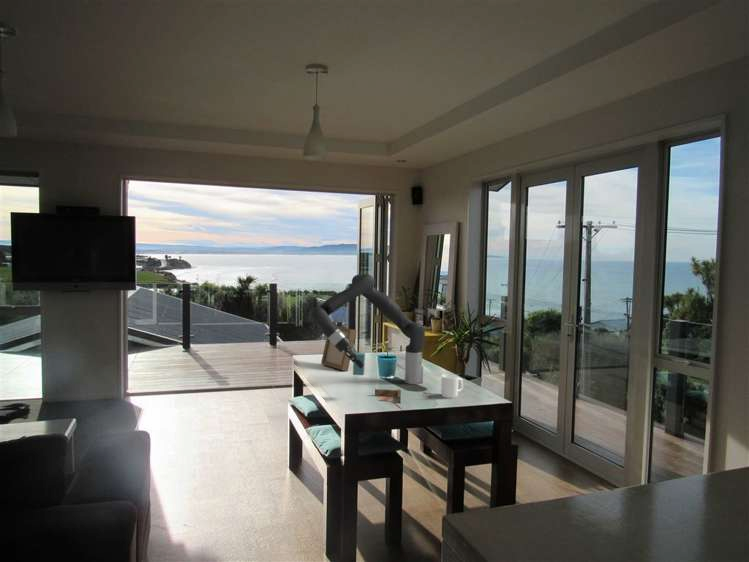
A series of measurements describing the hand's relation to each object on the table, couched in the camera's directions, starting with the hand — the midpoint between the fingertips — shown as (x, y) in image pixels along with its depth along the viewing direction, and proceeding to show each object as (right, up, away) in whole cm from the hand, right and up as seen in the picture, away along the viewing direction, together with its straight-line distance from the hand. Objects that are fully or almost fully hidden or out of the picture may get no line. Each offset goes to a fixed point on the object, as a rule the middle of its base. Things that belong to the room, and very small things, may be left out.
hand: (362, 365), depth 270 cm
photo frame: (-15, -12, +69) cm, 72 cm away
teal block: (-2, -4, 0) cm, 5 cm away
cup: (+45, -17, +9) cm, 49 cm away
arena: (+12, -16, 0) cm, 20 cm away
